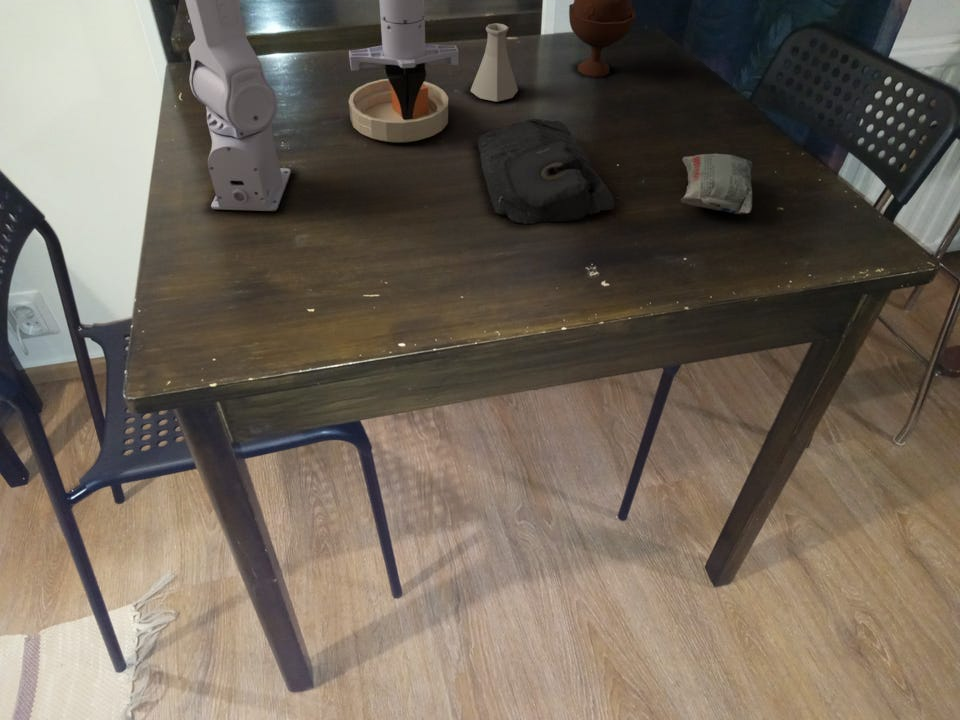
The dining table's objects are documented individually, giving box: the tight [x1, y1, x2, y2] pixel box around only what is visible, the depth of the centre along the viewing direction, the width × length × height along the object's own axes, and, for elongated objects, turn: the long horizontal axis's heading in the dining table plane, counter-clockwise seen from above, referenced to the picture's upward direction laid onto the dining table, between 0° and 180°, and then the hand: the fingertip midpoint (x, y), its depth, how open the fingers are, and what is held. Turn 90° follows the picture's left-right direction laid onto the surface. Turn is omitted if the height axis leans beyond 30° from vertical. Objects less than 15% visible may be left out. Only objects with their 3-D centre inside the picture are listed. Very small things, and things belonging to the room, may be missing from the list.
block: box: [391, 84, 429, 120], centre depth 103 cm, size 4×4×4 cm
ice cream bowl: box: [568, 0, 637, 78], centre depth 113 cm, size 11×11×15 cm
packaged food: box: [680, 153, 753, 215], centre depth 89 cm, size 9×12×5 cm
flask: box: [469, 22, 519, 103], centre depth 107 cm, size 7×7×10 cm
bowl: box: [348, 78, 449, 143], centre depth 102 cm, size 14×14×4 cm
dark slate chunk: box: [477, 118, 616, 225], centre depth 92 cm, size 15×22×5 cm
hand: (406, 116), depth 100 cm, fingers closed
